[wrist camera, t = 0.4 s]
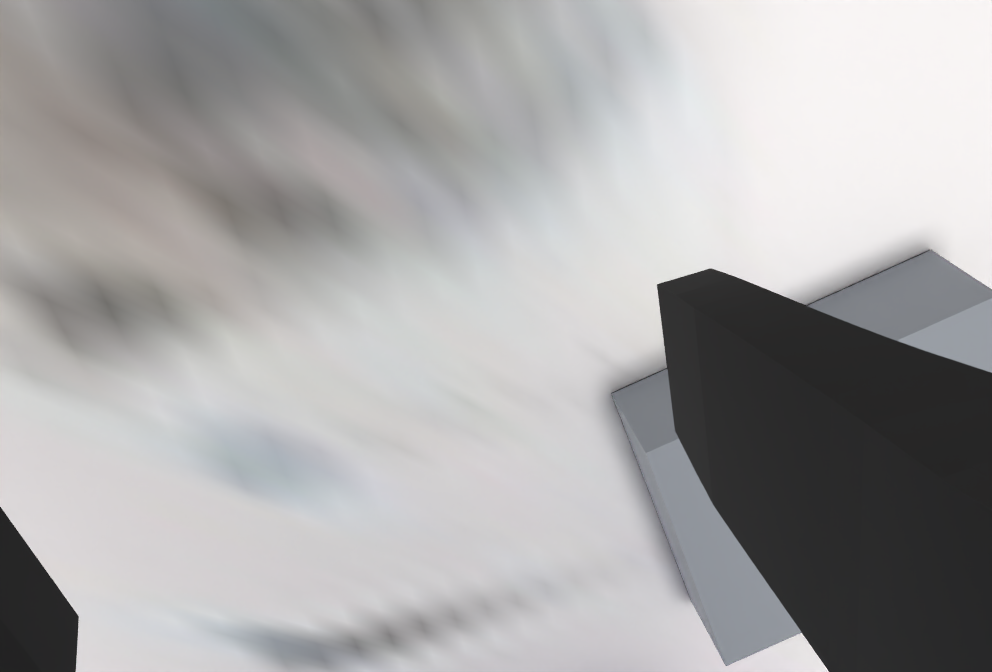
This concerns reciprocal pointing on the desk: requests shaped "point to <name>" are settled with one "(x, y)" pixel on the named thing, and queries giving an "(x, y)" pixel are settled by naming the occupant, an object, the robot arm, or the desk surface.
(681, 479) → the plinth
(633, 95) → the desk surface
